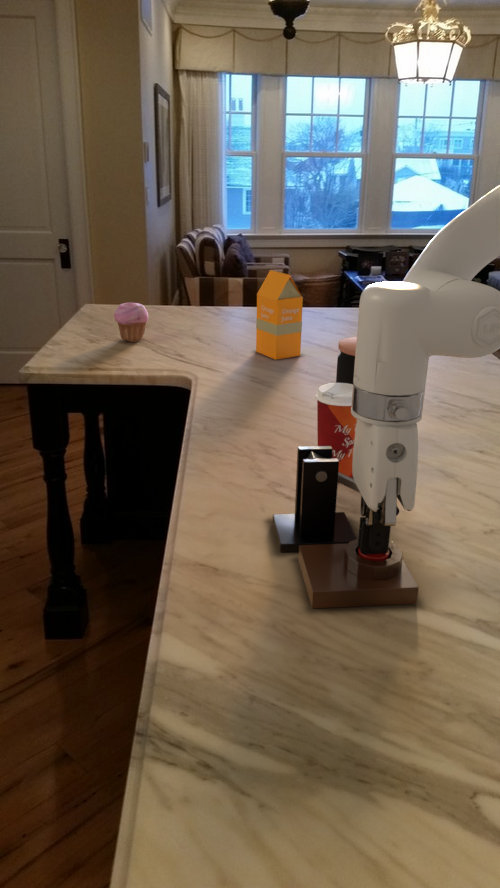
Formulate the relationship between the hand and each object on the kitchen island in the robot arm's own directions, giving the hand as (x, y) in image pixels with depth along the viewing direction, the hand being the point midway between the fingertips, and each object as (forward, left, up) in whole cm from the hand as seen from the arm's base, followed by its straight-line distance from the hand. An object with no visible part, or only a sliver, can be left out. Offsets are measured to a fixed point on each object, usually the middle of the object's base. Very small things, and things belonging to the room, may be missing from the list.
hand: (372, 550), depth 82 cm
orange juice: (-2, -101, -4) cm, 101 cm away
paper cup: (-2, -30, -4) cm, 30 cm away
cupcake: (+35, -116, -4) cm, 121 cm away
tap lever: (+1, -11, +2) cm, 11 cm away
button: (0, 0, -2) cm, 2 cm away
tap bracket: (+5, -11, -4) cm, 13 cm away
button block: (+2, 0, -4) cm, 5 cm away
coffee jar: (-9, -41, -4) cm, 42 cm away
